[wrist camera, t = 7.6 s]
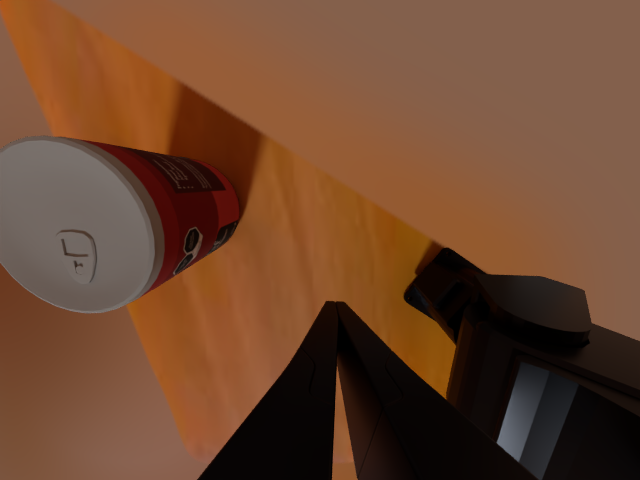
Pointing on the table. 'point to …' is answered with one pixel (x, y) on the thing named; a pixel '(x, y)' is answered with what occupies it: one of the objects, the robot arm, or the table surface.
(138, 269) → the canned food
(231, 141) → the table surface
